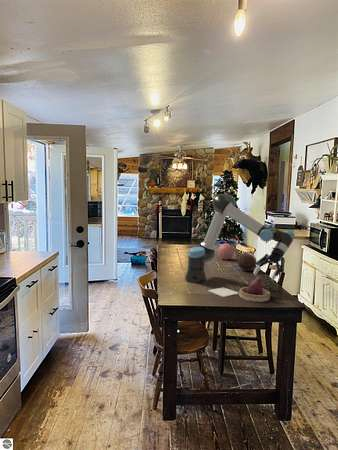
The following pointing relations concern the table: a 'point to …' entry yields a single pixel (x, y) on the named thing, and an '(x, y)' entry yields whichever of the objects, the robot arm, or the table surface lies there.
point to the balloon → (226, 251)
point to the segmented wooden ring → (254, 297)
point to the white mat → (223, 292)
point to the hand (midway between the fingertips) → (262, 276)
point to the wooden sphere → (247, 261)
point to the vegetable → (255, 287)
